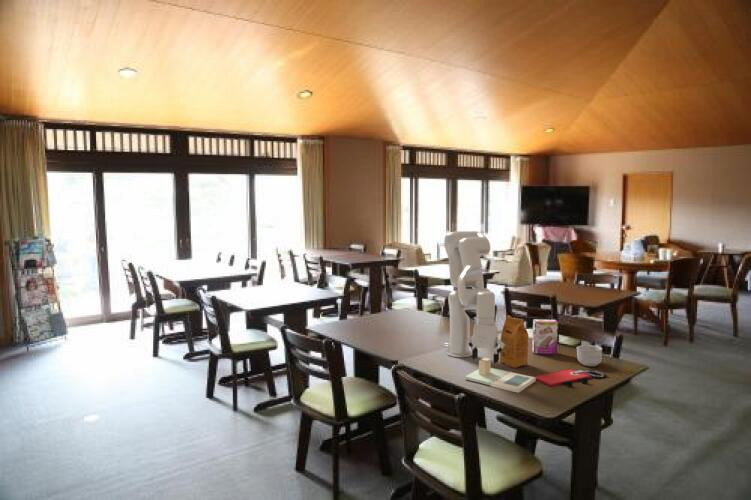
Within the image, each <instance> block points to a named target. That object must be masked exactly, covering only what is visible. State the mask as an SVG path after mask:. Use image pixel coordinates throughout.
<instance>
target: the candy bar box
mask: <svg viewBox="0 0 751 500" xmlns="http://www.w3.org/2000/svg"><path fill="white" fill-rule="evenodd" d="M558 333H559V322H558V321H557V320H556V319H535V318H534V319H533V320H532V340H531V341H532V342H531V343H532V347H531V351H532V353H533V354H534V355H556V356H557V355H558Z"/></svg>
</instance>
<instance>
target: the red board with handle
mask: <svg viewBox="0 0 751 500" xmlns="http://www.w3.org/2000/svg"><path fill="white" fill-rule="evenodd" d="M607 376H608V374H604V373H602V372H599V371H596V370H595V369H591V370H581V369H579V370H576V369H573V368H568V369H563V370H558V371H552V372H547V373H543V374H538V375H533V376H532V377H535V378H536V382H539V383H542V384H544V385H545V386H548V387H550V388H551V387H557V386H560V385H564V386H566V387H567V388H572V387H573V383H574V382H582V384H583V385H587V384H588V382H589V379H592V377H593V378H594V379H599V378H603V377H607Z"/></svg>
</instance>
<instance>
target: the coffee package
mask: <svg viewBox="0 0 751 500" xmlns="http://www.w3.org/2000/svg"><path fill="white" fill-rule="evenodd" d="M525 323H526V321H525V319H524V318H523V319H522V318H513V317H512V316H511V315H509V314H507V315H506V318H505V320H504V323H503V326H502V329H501V334H500V341H502V342H503V343H504V344H505V346H504V348H503V350H502V351H501V352H500V353H499V363H502V364H504V365H505V366H507V367H510V368H514V369H515V368H519V367H522V366H527V365H528V363H529V362H528V353H529V333H528V330H527V328H526V325H525Z"/></svg>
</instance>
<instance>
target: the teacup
mask: <svg viewBox="0 0 751 500" xmlns="http://www.w3.org/2000/svg"><path fill="white" fill-rule="evenodd" d="M576 355H577V357H576V358H577V361H578V362H579V364H581V365H583V366H586V367H597V366H599V364H601V363H602V359H603V348H602V347H601V346H600V345H591V344H583V345H579V346H576Z"/></svg>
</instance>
